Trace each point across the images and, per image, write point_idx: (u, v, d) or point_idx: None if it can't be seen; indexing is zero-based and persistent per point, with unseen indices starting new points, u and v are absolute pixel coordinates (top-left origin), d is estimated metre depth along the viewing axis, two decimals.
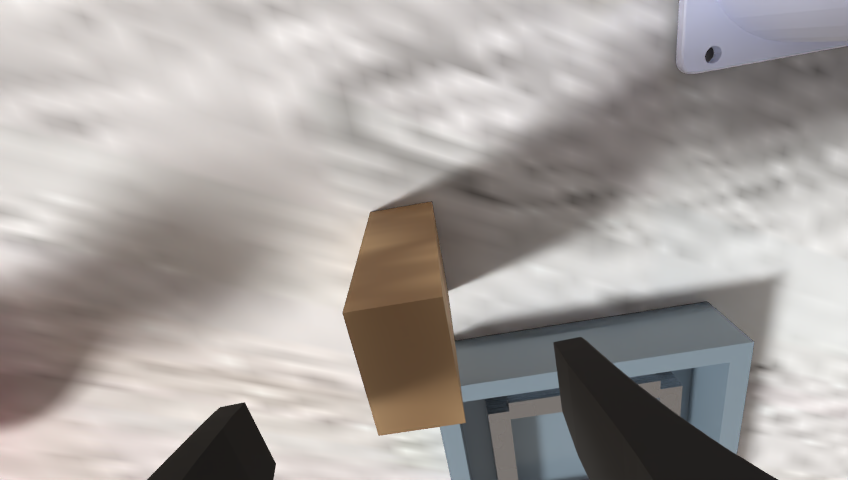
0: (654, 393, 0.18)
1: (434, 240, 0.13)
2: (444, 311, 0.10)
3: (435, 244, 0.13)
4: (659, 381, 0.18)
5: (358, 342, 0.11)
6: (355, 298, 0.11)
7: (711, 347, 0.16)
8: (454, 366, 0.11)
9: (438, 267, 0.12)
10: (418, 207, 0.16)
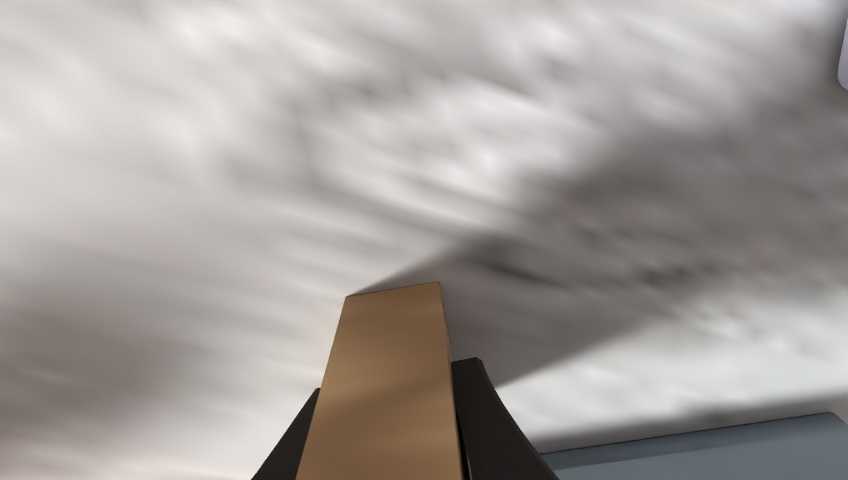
0: None
1: (447, 384, 0.08)
2: None
3: (449, 397, 0.07)
4: None
5: None
6: None
7: None
8: None
9: (459, 475, 0.06)
10: (419, 293, 0.11)
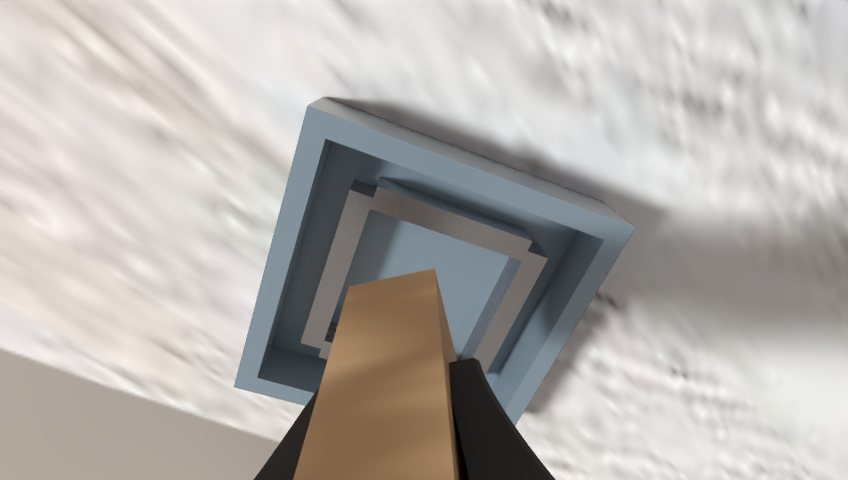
0: (520, 253, 0.17)
1: (439, 353, 0.08)
2: None
3: (441, 363, 0.08)
4: (530, 242, 0.17)
5: None
6: None
7: (598, 213, 0.15)
8: None
9: (448, 425, 0.07)
10: (416, 279, 0.11)
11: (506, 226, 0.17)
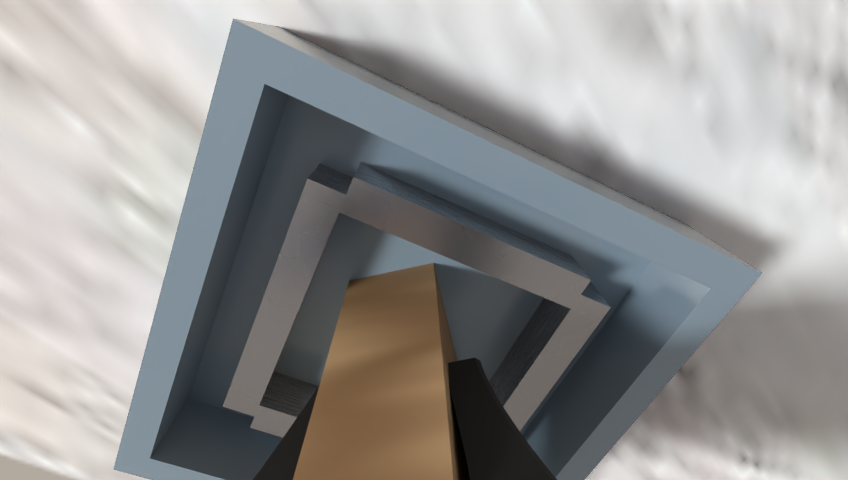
0: (569, 297, 0.11)
1: (438, 346, 0.09)
2: None
3: (440, 356, 0.08)
4: (587, 281, 0.11)
5: None
6: None
7: (708, 246, 0.10)
8: None
9: (446, 416, 0.07)
10: (415, 273, 0.12)
11: (550, 253, 0.11)
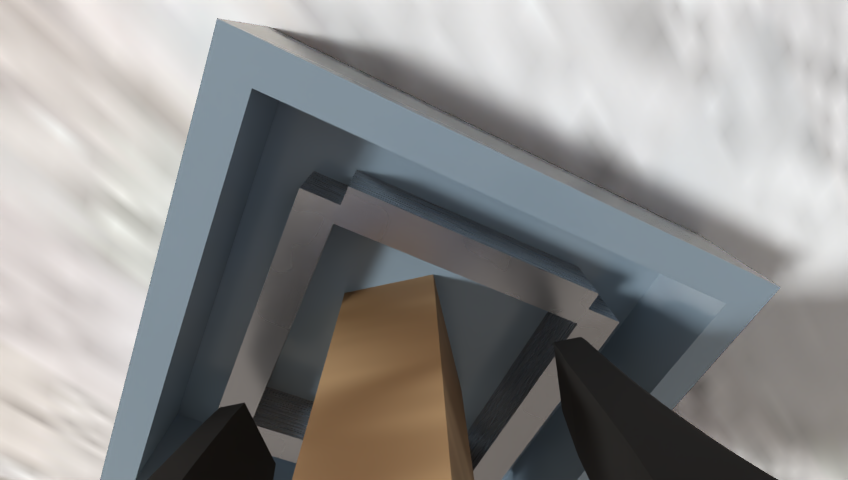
0: (576, 311, 0.10)
1: (438, 368, 0.08)
2: None
3: (440, 380, 0.08)
4: (595, 294, 0.10)
5: None
6: None
7: (724, 259, 0.09)
8: None
9: (447, 449, 0.06)
10: (414, 286, 0.11)
11: (556, 265, 0.11)
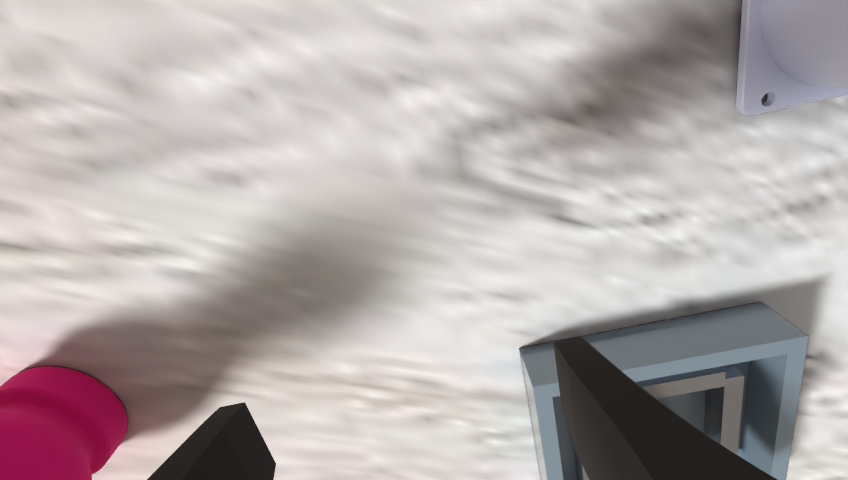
0: (720, 382, 0.21)
1: None
2: None
3: None
4: (724, 372, 0.21)
5: None
6: None
7: (771, 341, 0.19)
8: None
9: None
10: None
11: None
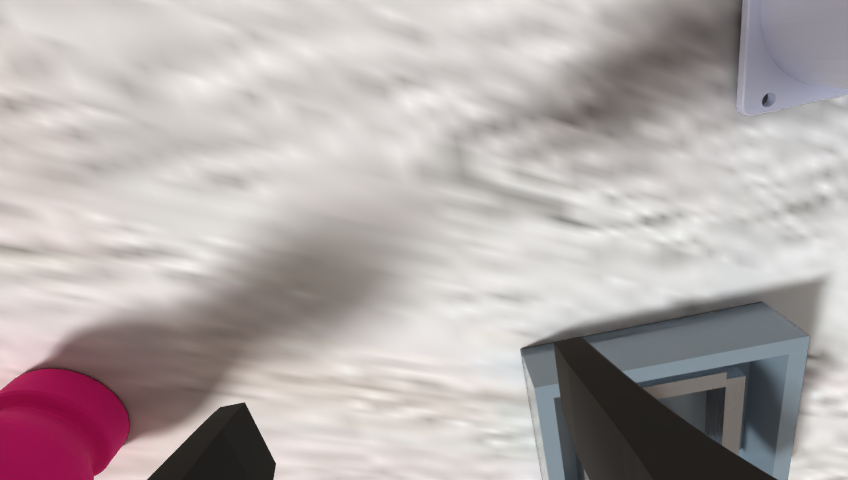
0: (721, 383, 0.21)
1: None
2: None
3: None
4: (725, 372, 0.21)
5: None
6: None
7: (773, 342, 0.19)
8: None
9: None
10: None
11: None
